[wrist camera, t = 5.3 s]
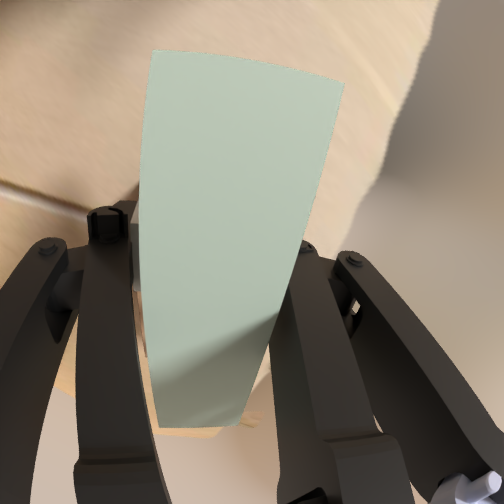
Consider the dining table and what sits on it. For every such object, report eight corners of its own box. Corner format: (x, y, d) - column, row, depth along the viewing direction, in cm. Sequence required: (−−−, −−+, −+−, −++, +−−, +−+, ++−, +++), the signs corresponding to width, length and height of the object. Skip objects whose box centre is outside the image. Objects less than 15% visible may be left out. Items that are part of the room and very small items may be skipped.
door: (178, 66, 12) (152, 49, 4) (245, 74, 12) (344, 83, 4) (161, 273, 18) (159, 427, 10) (212, 275, 19) (237, 425, 11)
